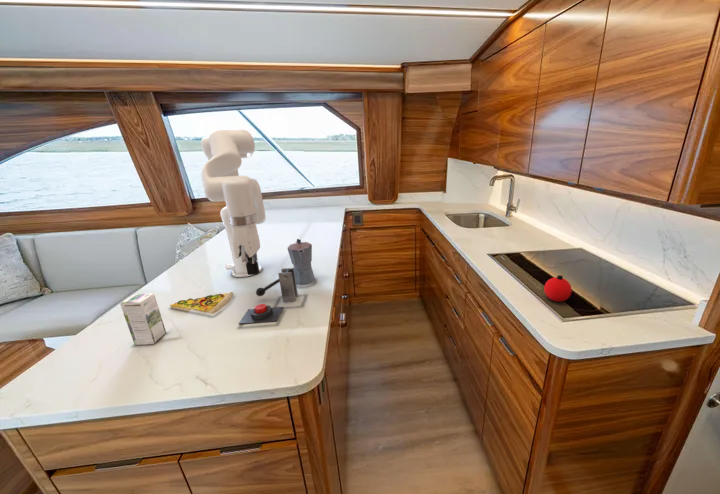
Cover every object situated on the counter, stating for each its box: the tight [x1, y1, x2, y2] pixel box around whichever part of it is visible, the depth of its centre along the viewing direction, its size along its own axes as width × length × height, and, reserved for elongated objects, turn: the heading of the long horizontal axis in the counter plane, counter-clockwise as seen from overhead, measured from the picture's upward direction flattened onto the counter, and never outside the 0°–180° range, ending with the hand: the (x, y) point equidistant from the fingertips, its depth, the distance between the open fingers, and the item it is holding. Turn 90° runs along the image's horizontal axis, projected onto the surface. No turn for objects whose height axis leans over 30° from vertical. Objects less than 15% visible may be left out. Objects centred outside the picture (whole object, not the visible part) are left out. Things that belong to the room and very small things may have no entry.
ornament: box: [543, 274, 573, 303], centre depth 109 cm, size 9×9×10 cm
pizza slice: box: [169, 291, 234, 315], centre depth 110 cm, size 16×21×3 cm
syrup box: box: [119, 292, 167, 346], centre depth 89 cm, size 6×6×14 cm
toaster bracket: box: [278, 267, 299, 303], centre depth 110 cm, size 10×9×13 cm
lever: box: [255, 270, 293, 297], centre depth 109 cm, size 15×3×3 cm
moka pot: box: [287, 238, 316, 286], centre depth 124 cm, size 10×15×20 cm, turn 28°
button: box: [254, 303, 267, 314], centre depth 100 cm, size 4×4×2 cm
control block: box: [238, 304, 284, 326], centre depth 101 cm, size 12×9×4 cm
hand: (253, 273), depth 99 cm, fingers closed
